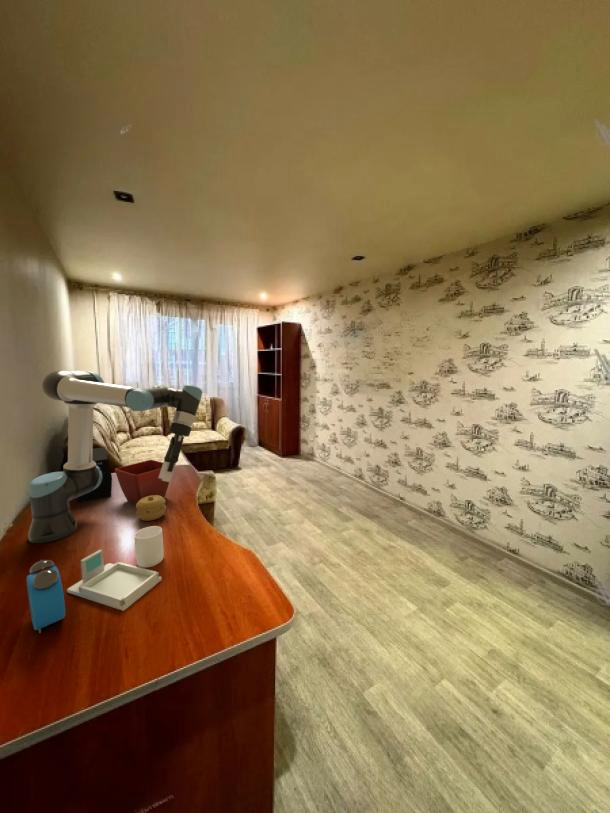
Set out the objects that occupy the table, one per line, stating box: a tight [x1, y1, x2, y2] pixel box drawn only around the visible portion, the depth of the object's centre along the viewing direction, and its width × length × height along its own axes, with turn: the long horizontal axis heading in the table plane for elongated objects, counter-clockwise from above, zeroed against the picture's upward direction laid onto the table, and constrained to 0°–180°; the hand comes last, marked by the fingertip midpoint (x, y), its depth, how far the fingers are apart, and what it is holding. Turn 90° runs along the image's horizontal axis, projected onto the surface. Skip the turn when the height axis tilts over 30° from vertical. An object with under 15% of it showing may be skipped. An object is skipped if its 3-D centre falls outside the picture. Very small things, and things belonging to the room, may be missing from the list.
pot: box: [135, 495, 167, 522], centre depth 137 cm, size 12×12×10 cm
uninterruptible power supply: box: [75, 446, 113, 504], centre depth 170 cm, size 16×34×20 cm, turn 35°
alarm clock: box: [26, 559, 66, 634], centre depth 80 cm, size 13×6×15 cm, turn 46°
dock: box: [66, 549, 163, 612], centre depth 94 cm, size 22×13×8 cm, turn 70°
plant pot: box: [114, 459, 170, 505], centre depth 157 cm, size 19×19×17 cm
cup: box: [134, 525, 165, 569], centre depth 107 cm, size 8×12×10 cm
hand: (163, 480), depth 115 cm, fingers open, 13 cm apart
